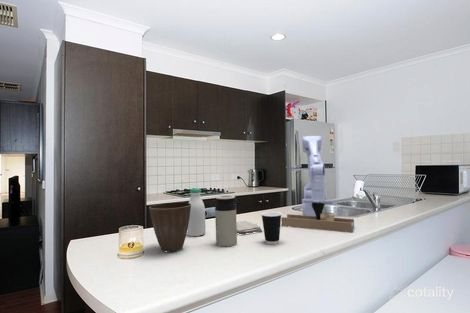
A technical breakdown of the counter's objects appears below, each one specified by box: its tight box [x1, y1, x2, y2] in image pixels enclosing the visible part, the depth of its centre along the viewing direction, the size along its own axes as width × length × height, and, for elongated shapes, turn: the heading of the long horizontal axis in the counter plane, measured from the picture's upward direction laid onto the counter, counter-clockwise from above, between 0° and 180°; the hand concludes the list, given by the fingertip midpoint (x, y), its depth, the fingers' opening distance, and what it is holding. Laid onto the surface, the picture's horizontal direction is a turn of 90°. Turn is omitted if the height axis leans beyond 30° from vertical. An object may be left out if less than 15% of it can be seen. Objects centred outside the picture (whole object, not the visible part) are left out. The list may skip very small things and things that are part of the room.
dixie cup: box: [260, 211, 282, 245], centre depth 106 cm, size 8×8×11 cm
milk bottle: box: [187, 187, 206, 237], centre depth 120 cm, size 8×8×20 cm
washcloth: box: [236, 220, 263, 234], centre depth 127 cm, size 12×18×3 cm, turn 28°
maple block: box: [320, 211, 335, 221], centre depth 126 cm, size 5×5×4 cm
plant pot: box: [148, 201, 191, 253], centre depth 101 cm, size 15×15×16 cm
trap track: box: [281, 213, 355, 234], centre depth 128 cm, size 31×9×4 cm, turn 60°
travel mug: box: [214, 194, 238, 247], centre depth 106 cm, size 8×8×18 cm
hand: (318, 219), depth 127 cm, fingers closed
